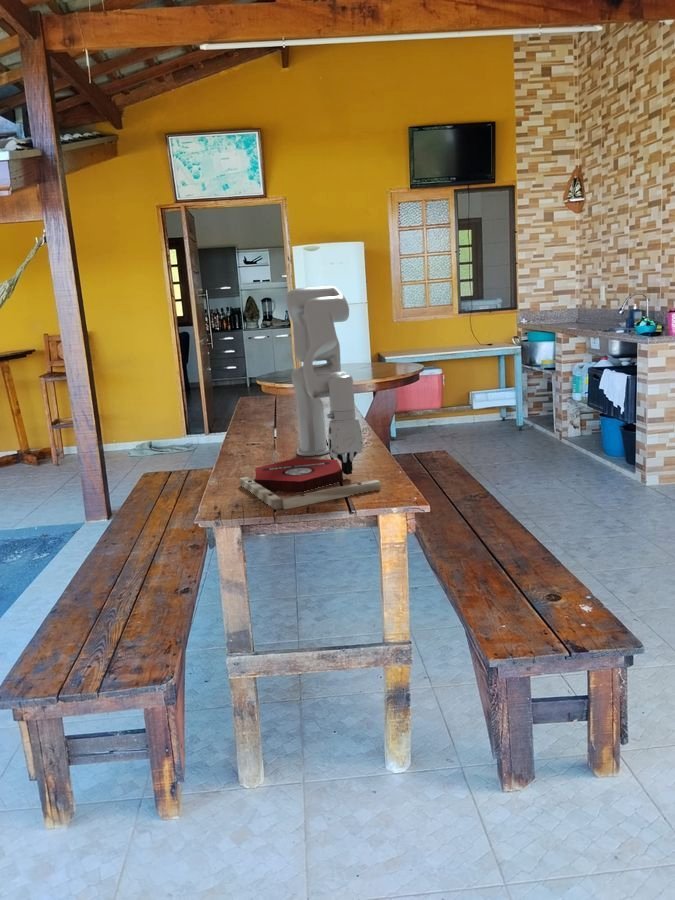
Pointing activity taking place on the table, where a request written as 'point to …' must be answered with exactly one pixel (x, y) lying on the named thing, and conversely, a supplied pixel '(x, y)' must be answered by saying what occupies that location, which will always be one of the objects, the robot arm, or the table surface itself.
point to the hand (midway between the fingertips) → (347, 473)
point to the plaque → (299, 474)
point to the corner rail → (309, 497)
